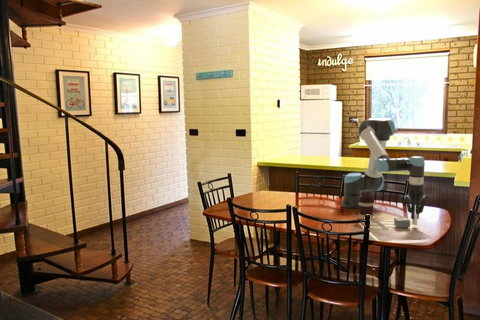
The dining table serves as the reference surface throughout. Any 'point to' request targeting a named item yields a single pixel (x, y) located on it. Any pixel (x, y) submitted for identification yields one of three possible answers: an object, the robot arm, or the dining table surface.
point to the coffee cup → (365, 206)
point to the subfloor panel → (387, 225)
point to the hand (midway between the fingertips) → (414, 224)
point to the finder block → (401, 222)
